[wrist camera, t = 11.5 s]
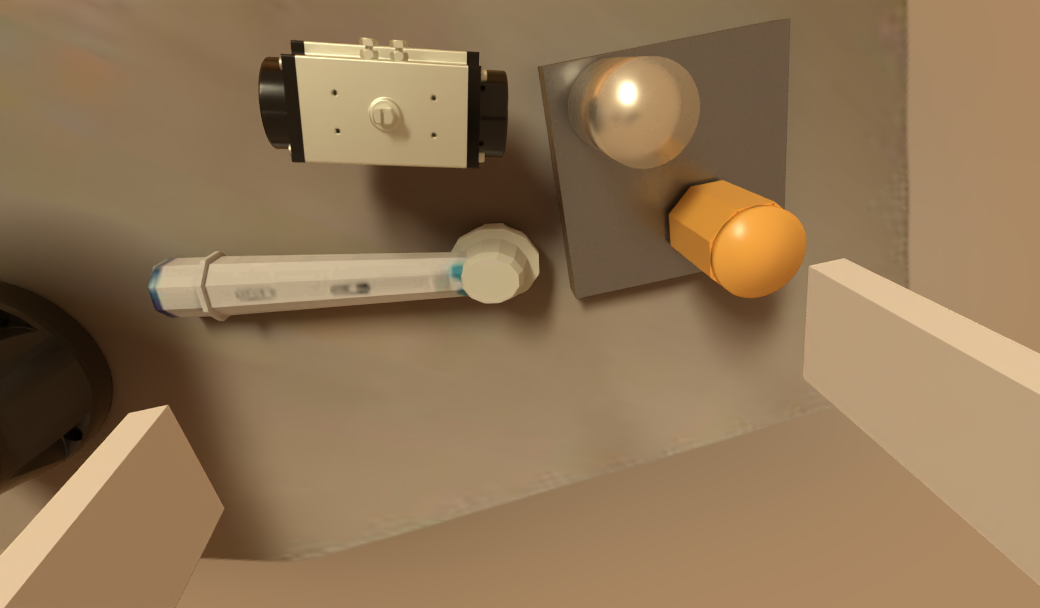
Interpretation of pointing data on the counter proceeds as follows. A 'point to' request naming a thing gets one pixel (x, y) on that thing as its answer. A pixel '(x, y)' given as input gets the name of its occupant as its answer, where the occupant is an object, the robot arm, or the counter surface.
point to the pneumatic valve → (383, 105)
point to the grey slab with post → (660, 144)
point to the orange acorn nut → (738, 238)
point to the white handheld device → (346, 277)
